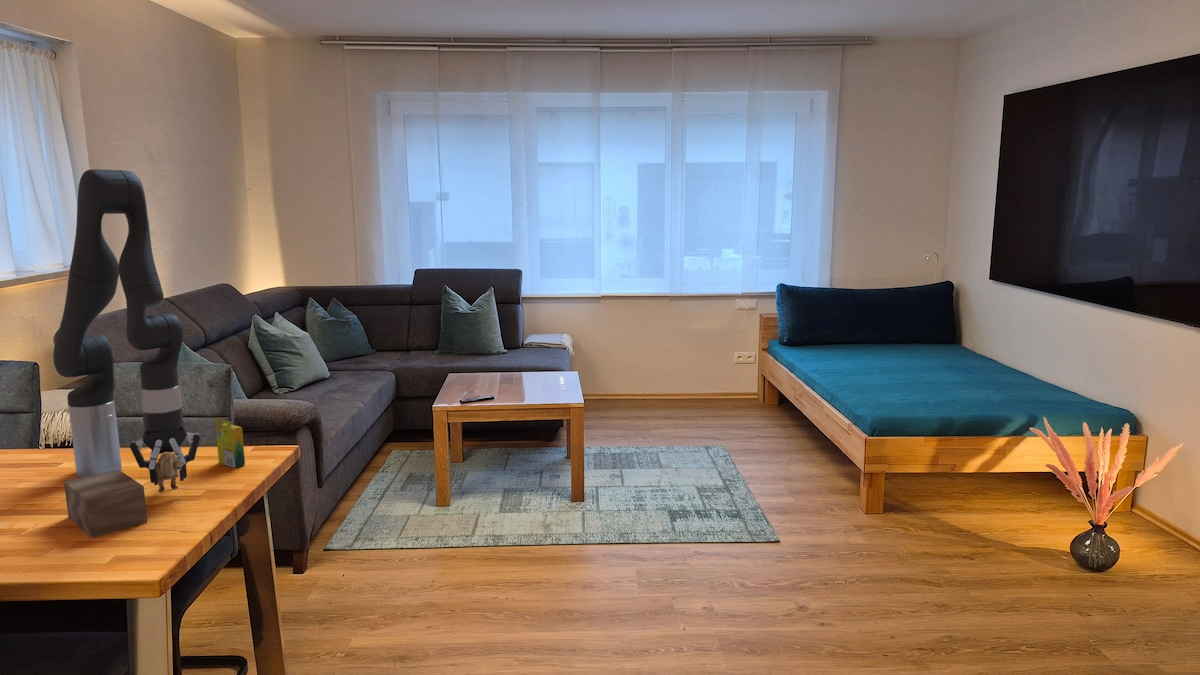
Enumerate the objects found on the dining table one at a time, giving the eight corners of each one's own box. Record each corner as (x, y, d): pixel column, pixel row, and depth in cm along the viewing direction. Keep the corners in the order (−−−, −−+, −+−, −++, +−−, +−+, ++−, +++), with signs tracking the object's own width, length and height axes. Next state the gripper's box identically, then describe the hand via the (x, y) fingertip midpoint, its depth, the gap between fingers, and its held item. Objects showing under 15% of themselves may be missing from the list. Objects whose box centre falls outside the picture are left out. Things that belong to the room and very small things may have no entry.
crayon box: (245, 465, 195) (242, 419, 193) (234, 468, 193) (230, 422, 191) (229, 459, 200) (225, 415, 198) (218, 462, 197) (214, 417, 195)
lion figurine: (187, 493, 172) (184, 453, 170) (159, 498, 169) (155, 457, 167) (177, 473, 183) (174, 435, 182) (151, 477, 180) (147, 439, 179)
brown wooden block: (68, 518, 164) (63, 481, 163) (122, 504, 171) (118, 469, 170) (91, 539, 154) (86, 500, 153) (147, 523, 161) (143, 486, 160)
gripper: (197, 398, 178) (203, 471, 181) (123, 406, 171) (131, 482, 174) (200, 406, 172) (206, 481, 175) (123, 415, 165) (131, 493, 168)
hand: (168, 481), depth 175 cm, fingers closed on lion figurine, 4 cm apart
